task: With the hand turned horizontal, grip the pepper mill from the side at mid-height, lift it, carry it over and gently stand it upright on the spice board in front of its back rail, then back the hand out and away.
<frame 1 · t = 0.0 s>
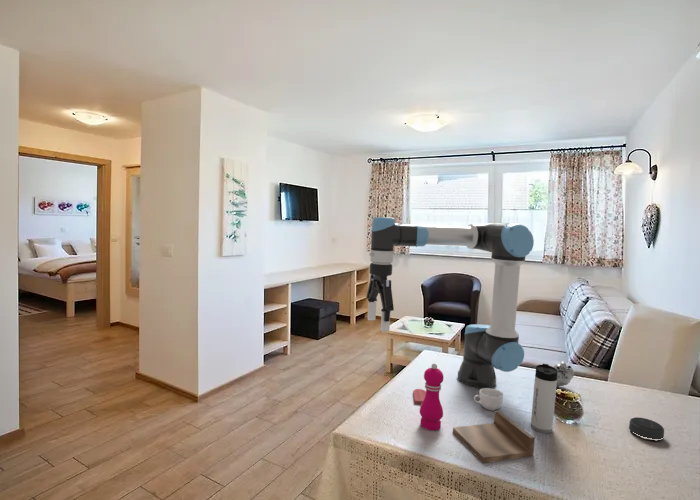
hand: (377, 325, 138), 28 cm above the table, tool pointing down, fingers open, 13 cm apart
teacup: (487, 407, 143), on the table
smart speaker: (645, 435, 129), on the table
grey rounded lump: (558, 388, 163), on the table
popsicle: (421, 402, 146), on the table
travel mug: (541, 428, 130), on the table
spice board: (491, 443, 119), on the table
pepper mill: (430, 426, 128), on the table
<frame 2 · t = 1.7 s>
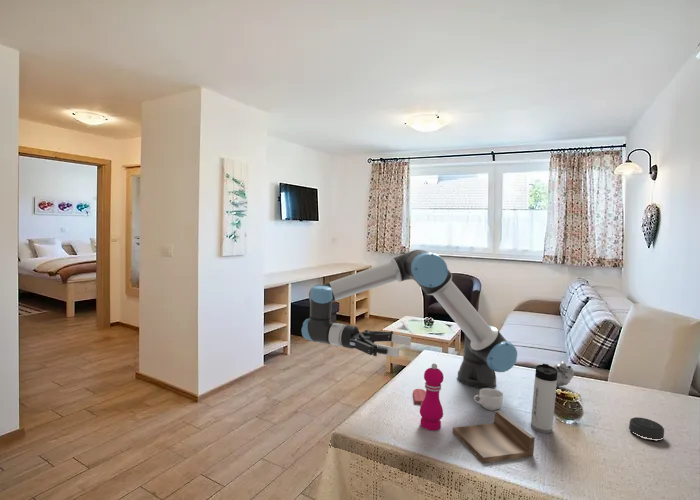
hand: (404, 346, 130), 24 cm above the table, tool horizontal, fingers open, 13 cm apart
nothing on the table moved.
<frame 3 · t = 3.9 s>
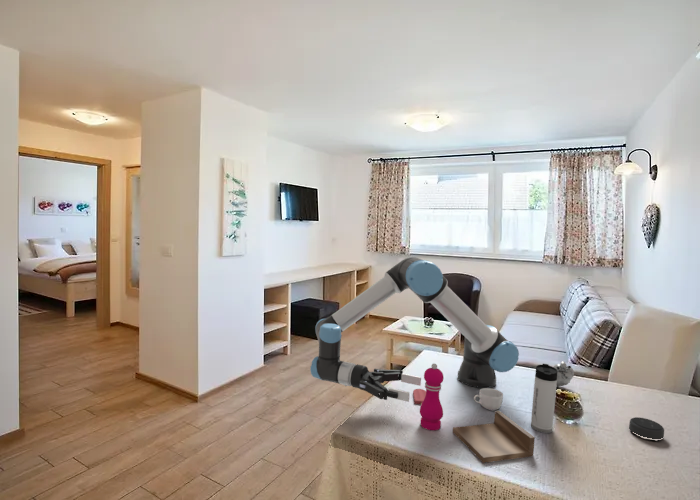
hand: (415, 388, 129), 11 cm above the table, tool horizontal, fingers open, 13 cm apart
nothing on the table moved.
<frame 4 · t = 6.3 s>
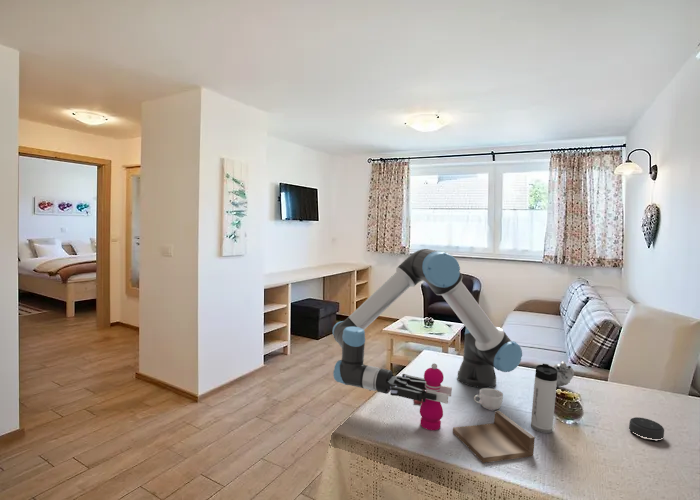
hand: (449, 395, 125), 11 cm above the table, tool horizontal, fingers closed on pepper mill, 5 cm apart
pepper mill: (430, 426, 128), on the table, touching gripper
everything else where it was.
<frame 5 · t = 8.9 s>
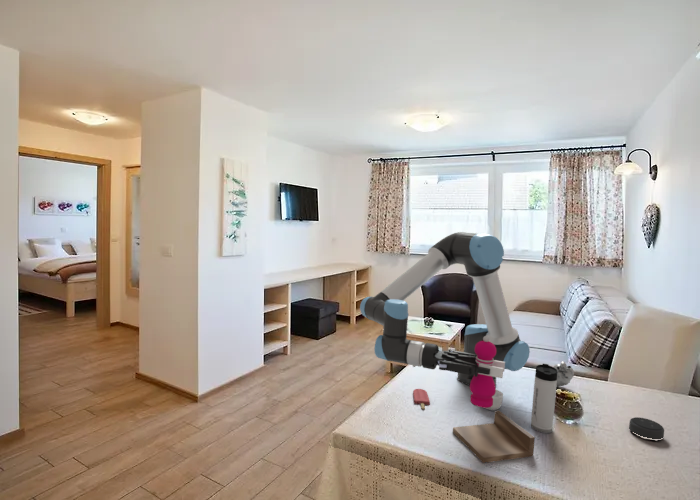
hand: (503, 369, 116), 23 cm above the table, tool horizontal, fingers closed on pepper mill, 5 cm apart
pepper mill: (481, 403, 119), point 12 cm above the table, touching gripper
everything else where it was.
when the fingers open (14 cm above the table, at t = 11.6 s): pepper mill drops 1 cm, resting on spice board.
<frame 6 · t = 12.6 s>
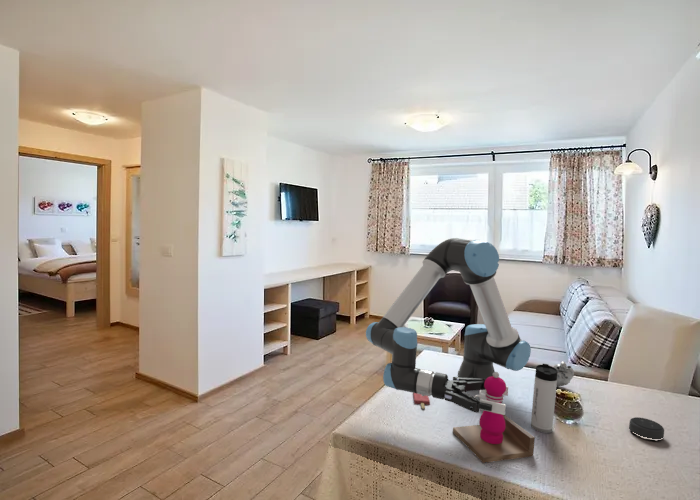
hand: (506, 400, 117), 14 cm above the table, tool horizontal, fingers open, 13 cm apart
pepper mill: (491, 439, 119), point 1 cm above the table, touching spice board
everything else where it was.
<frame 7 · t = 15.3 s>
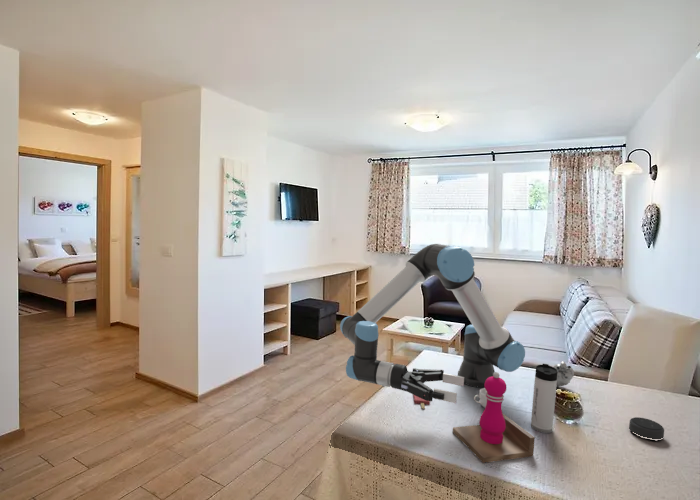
hand: (460, 389, 122), 14 cm above the table, tool horizontal, fingers open, 13 cm apart
nothing on the table moved.
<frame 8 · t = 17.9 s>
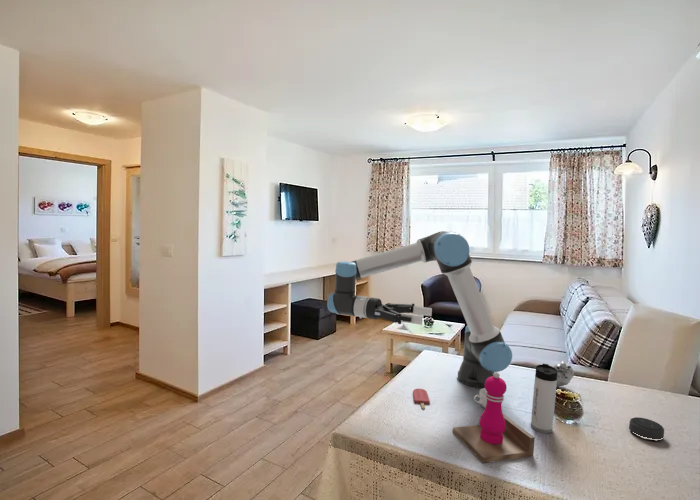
hand: (427, 316, 137), 32 cm above the table, tool horizontal, fingers open, 13 cm apart
nothing on the table moved.
at the end: pepper mill inside the target area on the spice board (0.0 cm from its centre), point 1.3 cm above the spice board's base; pepper mill tilted 0°; the gripper is holding nothing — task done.
